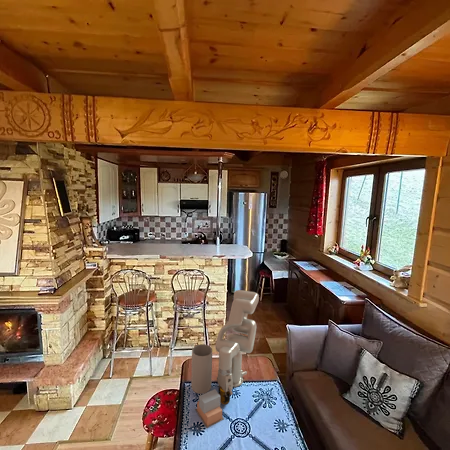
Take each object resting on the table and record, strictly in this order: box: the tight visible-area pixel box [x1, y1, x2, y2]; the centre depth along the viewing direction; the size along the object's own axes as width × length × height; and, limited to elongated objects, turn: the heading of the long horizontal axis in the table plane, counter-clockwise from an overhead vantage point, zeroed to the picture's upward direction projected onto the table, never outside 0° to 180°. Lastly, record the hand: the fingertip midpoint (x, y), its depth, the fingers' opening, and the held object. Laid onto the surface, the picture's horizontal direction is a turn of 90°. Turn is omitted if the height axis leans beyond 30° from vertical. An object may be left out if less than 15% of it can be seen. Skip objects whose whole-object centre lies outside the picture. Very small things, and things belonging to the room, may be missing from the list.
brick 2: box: [196, 400, 223, 426], centre depth 146 cm, size 12×9×5 cm
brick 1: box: [198, 388, 221, 414], centre depth 146 cm, size 10×6×6 cm, turn 122°
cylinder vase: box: [190, 344, 213, 395], centre depth 166 cm, size 12×12×25 cm
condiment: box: [220, 387, 231, 405], centre depth 156 cm, size 7×8×12 cm
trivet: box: [194, 408, 225, 429], centre depth 147 cm, size 11×14×1 cm
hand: (223, 397), depth 156 cm, fingers closed on condiment, 6 cm apart
